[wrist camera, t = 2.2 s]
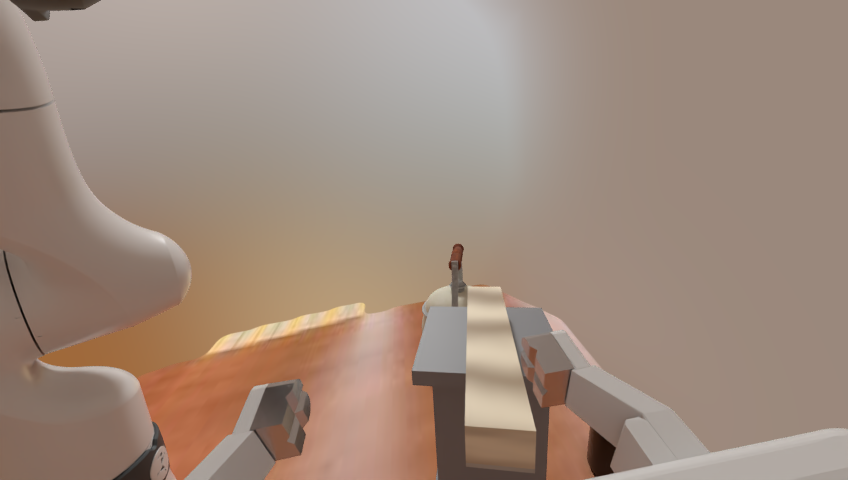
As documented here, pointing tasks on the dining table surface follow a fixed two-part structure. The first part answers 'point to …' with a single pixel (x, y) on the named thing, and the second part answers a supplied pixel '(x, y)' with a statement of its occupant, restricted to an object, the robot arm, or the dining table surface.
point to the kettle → (450, 287)
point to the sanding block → (495, 389)
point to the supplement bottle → (600, 454)
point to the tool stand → (447, 374)
